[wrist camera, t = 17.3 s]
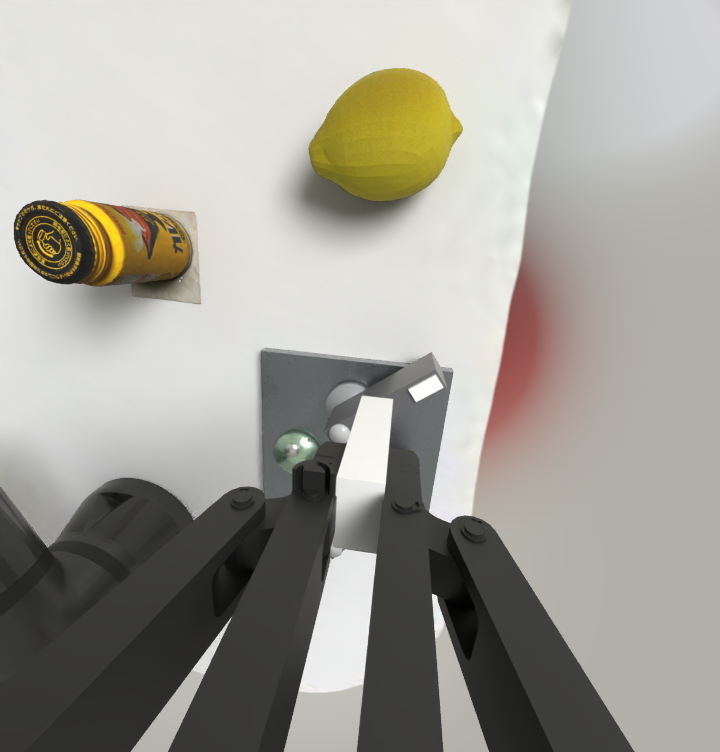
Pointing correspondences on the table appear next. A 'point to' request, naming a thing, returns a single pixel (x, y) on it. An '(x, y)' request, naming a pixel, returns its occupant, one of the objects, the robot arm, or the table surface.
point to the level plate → (308, 417)
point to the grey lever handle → (383, 395)
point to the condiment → (112, 247)
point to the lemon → (386, 135)
